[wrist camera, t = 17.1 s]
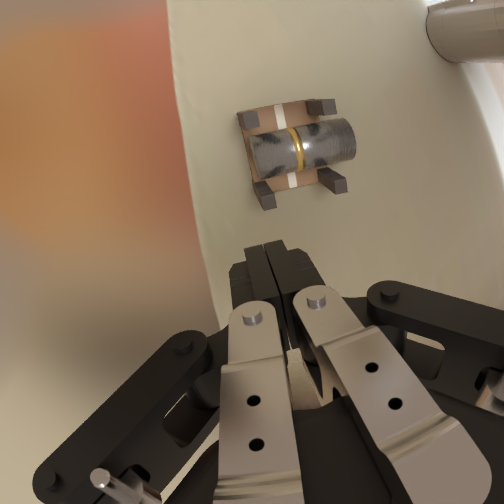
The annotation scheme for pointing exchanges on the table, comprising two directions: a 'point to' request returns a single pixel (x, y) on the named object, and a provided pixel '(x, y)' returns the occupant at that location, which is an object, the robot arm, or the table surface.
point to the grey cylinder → (302, 147)
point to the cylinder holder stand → (280, 119)
